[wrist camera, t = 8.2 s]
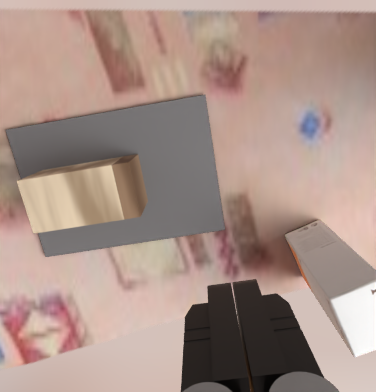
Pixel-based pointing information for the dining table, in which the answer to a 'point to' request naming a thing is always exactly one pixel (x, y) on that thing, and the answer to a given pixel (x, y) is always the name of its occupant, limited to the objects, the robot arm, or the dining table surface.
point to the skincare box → (338, 283)
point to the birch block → (84, 194)
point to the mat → (150, 165)
